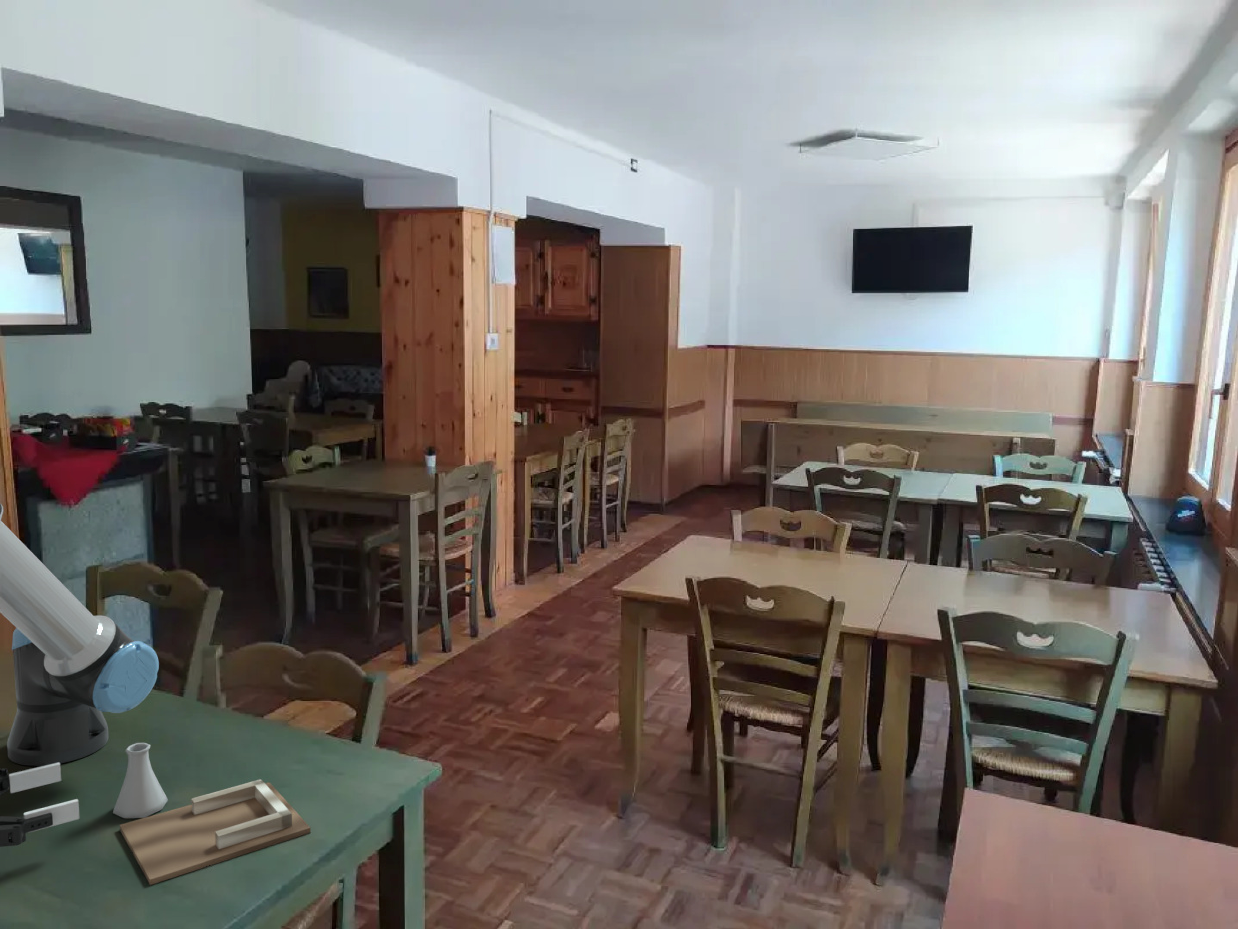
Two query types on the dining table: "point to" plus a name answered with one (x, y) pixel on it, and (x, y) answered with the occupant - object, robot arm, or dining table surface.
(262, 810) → the nook board
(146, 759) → the flask
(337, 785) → the dining table surface
